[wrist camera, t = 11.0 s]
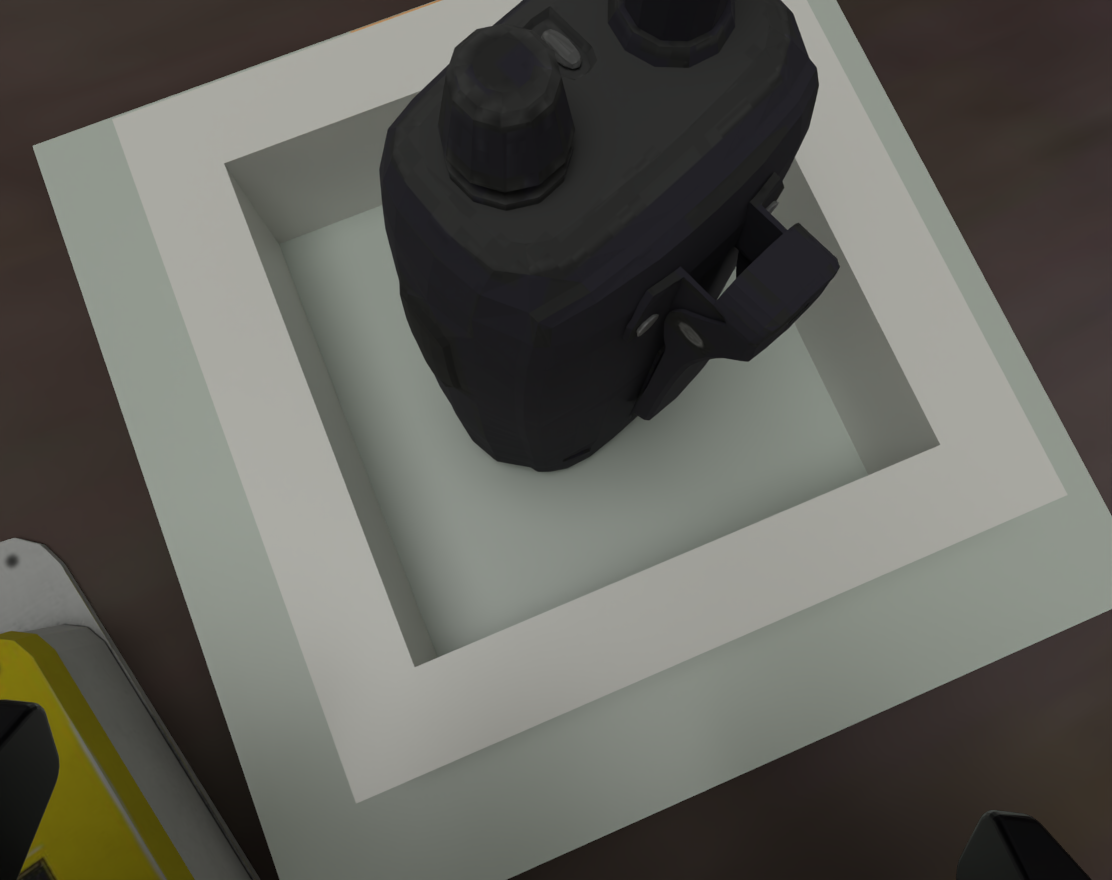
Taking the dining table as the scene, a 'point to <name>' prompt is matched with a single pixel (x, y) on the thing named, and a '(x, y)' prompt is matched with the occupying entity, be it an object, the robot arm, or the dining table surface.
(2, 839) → the robot arm
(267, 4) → the dining table surface
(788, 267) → the two-way radio
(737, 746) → the charging dock
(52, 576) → the emergency button
